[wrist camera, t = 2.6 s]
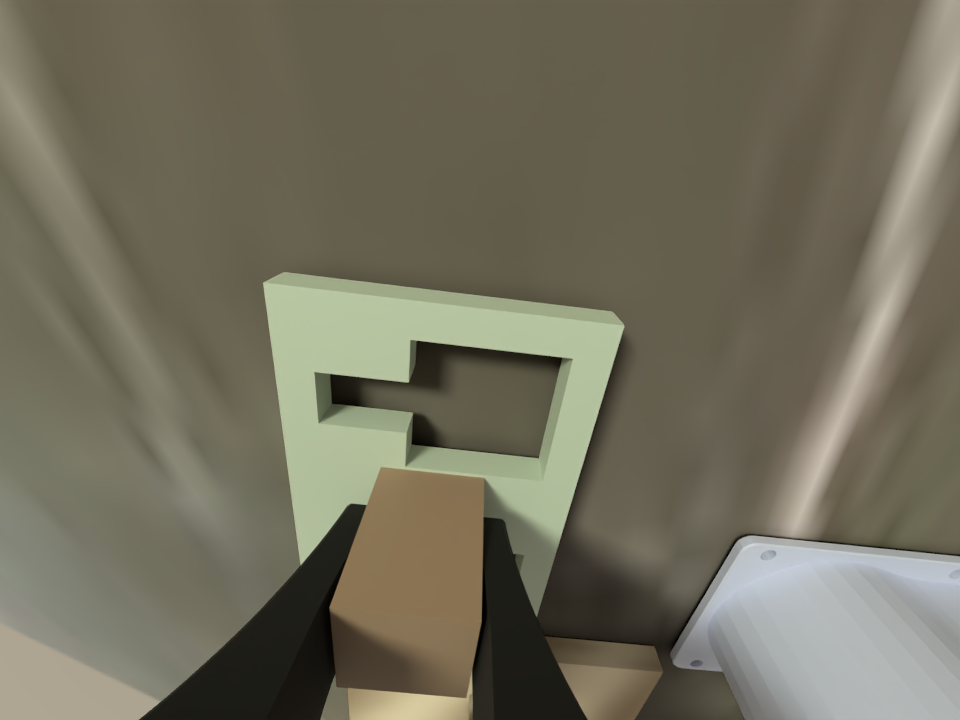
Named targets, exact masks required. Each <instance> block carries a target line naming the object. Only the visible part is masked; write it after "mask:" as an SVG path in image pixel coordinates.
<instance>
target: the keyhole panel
mask: <svg viewBox="0 0 960 720" xmlns="http://www.w3.org/2000/svg"><path fill="white" fill-rule="evenodd" d="M263 285H264V292H265V300H266V307H267V315H268V322H269V330H270V337H271V345H272V353H273V360H274V368H275V375H276V383H277V390H278V398H279V405H280V413H281V420H282V428H283V436H284V443H285V451H286V458H287V466H288V473H289V481H290V488H291V496H292V503H293V511H294V518H295V526H296V534H297V541H298V549H299V556H300V564H302V563H303V562H304V561H305V560H306V558H307V557H308V556H309V555H310V554H311V552H312V551H313V550H314V549H315V548H316V546H317V545H318V544H319V543H320V541H321V540H322V539H323V538H324V536H325V535H326V534H327V533H328V531H329V530H330V529H331V527H332V526H333V525H334V523H335V522H336V521H337V519H338V518H339V517H340V515H341V514H342V512H343V511H344V510H345V508H346V507H347V506H348V505H349V504H351V503H352V504H362V505H367V506H366V509H365V512H364V514H363V517H362V520H361V523H360V525H359V528H358V531H357V534H356V536H355V539H354V542H353V545H352V547H351V550H350V553H349V556H348V558H347V561H346V564H345V566H344V569H343V572H342V575H341V577H340V580H339V583H338V586H337V588H336V591H335V594H334V597H333V599H332V602H331V605H330V618H331V629H332V640H333V652H334V663H335V674H336V685H337V687H343V688H354V689H366V690H377V691H389V692H400V693H411V694H423V695H434V696H446V697H457V698H467V693H468V688H469V683H470V677H471V672H472V667H473V662H474V657H475V652H476V647H477V642H478V637H479V632H480V627H481V622H482V571H483V517H489V518H498V519H503V520H504V521H505V523H506V528H507V533H508V537H509V541H510V544H511V548H512V551H513V554H516V558H515V561H516V564H517V567H518V570H519V573H520V576H521V579H522V581H523V584H524V587H525V589H526V592H527V595H528V597H529V600H530V602H531V605H532V607H533V610H534V612H535V615H536V617H537V615H538V611H539V608H540V605H541V601H542V598H543V595H544V591H545V588H546V585H547V581H548V578H549V575H550V571H551V568H552V565H553V561H554V558H555V555H556V551H557V548H558V545H559V542H560V538H561V535H562V532H563V528H564V525H565V522H566V518H567V515H568V512H569V508H570V505H571V502H572V498H573V495H574V492H575V488H576V485H577V482H578V478H579V475H580V472H581V469H582V465H583V462H584V459H585V455H586V452H587V449H588V445H589V442H590V439H591V435H592V432H593V429H594V425H595V422H596V419H597V415H598V412H599V409H600V405H601V402H602V399H603V396H604V392H605V389H606V386H607V382H608V379H609V376H610V372H611V369H612V366H613V362H614V359H615V356H616V352H617V349H618V346H619V342H620V339H621V336H622V332H623V329H624V324H623V323H622V322H621V321H620V320H619V319H618V317H617V316H616V315H615V314H614V313H613V312H612V311H603V310H595V309H587V308H578V307H570V306H562V305H553V304H545V303H537V302H528V301H520V300H512V299H503V298H495V297H487V296H478V295H470V294H462V293H453V292H445V291H437V290H428V289H420V288H412V287H403V286H395V285H387V284H379V283H370V282H362V281H354V280H345V279H337V278H329V277H320V276H312V275H304V274H295V273H287V272H283V273H281V274H279V275H277V276H275V277H273V278H271V279H269V280H267V281H265V282H263ZM417 341H424V342H433V343H442V344H450V345H459V346H467V347H476V348H485V349H493V350H502V351H511V352H519V353H528V354H537V355H545V356H554V357H562V362H561V366H560V370H559V374H558V379H557V383H556V387H555V391H554V396H553V400H552V404H551V408H550V413H549V417H548V421H547V426H546V430H545V434H544V438H543V443H542V447H541V451H540V455H539V458H531V457H521V456H512V455H503V454H493V453H484V452H475V451H465V450H456V449H447V448H438V447H428V446H419V445H412V424H413V413H412V412H403V411H394V410H385V409H376V408H367V407H357V406H348V405H339V404H332V398H331V382H330V374H336V375H345V376H354V377H362V378H371V379H380V380H389V381H398V382H407V383H409V380H410V378H411V375H412V373H413V370H414V367H415V362H416V342H417Z"/></svg>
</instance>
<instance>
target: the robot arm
mask: <svg viewBox="0 0 960 720" xmlns="http://www.w3.org/2000/svg"><path fill="white" fill-rule="evenodd" d="M366 506H367V505H362V504H352V503H351V504H349V505H348V506H347V507H346V508H345V510H344V511H343V512H342V514H341V515H340V517H339V518H338V519H337V521H336V522H335V523H334V525H333V526H332V527H331V529H330V530H329V531H328V533H327V534H326V535H325V536H324V538H323V539H322V540H321V541H320V543H319V544H318V545H317V546H316V548H315V549H314V550H313V551H312V552H311V554H310V555H309V556H308V557H307V558H306V560H305V561H304V562H303V563H302V564H301V566H300V567H299V568H298V569H297V570H296V571H295V573H294V574H293V575H292V576H291V577H290V578H289V579H288V581H287V582H286V583H285V584H284V585H283V586H282V587H281V588H280V589H279V590H278V591H277V592H276V594H275V595H274V596H273V597H272V598H271V599H270V600H269V601H268V602H267V603H266V604H265V605H264V607H263V608H262V609H261V610H260V611H259V612H258V613H257V614H256V615H255V616H254V617H253V618H252V619H251V620H250V621H249V622H248V623H247V624H246V625H245V626H244V627H243V628H242V629H241V630H240V631H239V632H238V633H237V634H236V635H235V636H234V637H233V638H232V639H230V640H229V641H228V642H227V643H226V644H225V645H224V646H223V647H222V648H221V649H220V650H219V651H218V652H217V653H216V654H215V655H213V656H212V657H211V658H210V659H209V660H208V661H207V662H206V663H205V664H204V665H202V666H201V667H200V668H199V669H198V670H197V671H196V672H195V673H194V674H193V675H191V676H190V677H189V678H188V679H187V680H186V681H185V682H184V683H182V684H181V685H180V686H179V687H178V688H177V689H175V690H174V691H173V692H172V693H171V694H170V695H168V696H167V697H166V698H165V699H164V700H163V701H161V702H160V703H159V704H158V705H157V706H155V707H154V708H153V709H152V710H150V711H149V712H148V713H147V714H146V715H144V716H143V717H142V718H141V719H139V720H320V719H321V715H322V711H323V708H324V705H325V702H326V699H327V696H328V693H329V690H330V687H331V684H332V681H333V678H334V675H335V663H334V652H333V640H332V629H331V618H330V605H331V602H332V599H333V597H334V594H335V591H336V588H337V586H338V583H339V580H340V577H341V575H342V572H343V569H344V566H345V564H346V561H347V558H348V556H349V553H350V550H351V547H352V545H353V542H354V539H355V536H356V534H357V531H358V528H359V525H360V523H361V520H362V517H363V514H364V512H365V509H366ZM670 656H671V659H672V662H673V664H674V665H675V666H677V667H679V668H686V669H697V670H709V671H720V672H723V673H724V675H725V678H726V680H727V682H728V684H729V686H730V688H731V691H732V693H733V695H734V697H735V699H736V701H737V703H738V706H739V708H740V710H741V712H742V714H743V716H744V719H745V720H960V556H951V555H941V554H931V553H921V552H911V551H902V550H892V549H882V548H872V547H862V546H852V545H842V544H832V543H822V542H812V541H802V540H792V539H783V538H773V537H763V536H745V537H742V538H741V539H739V540H738V541H737V542H736V543H735V545H734V547H733V548H732V550H731V552H730V553H729V555H728V557H727V558H726V560H725V562H724V564H723V565H722V567H721V569H720V570H719V572H718V574H717V575H716V577H715V579H714V580H713V582H712V584H711V585H710V587H709V589H708V590H707V592H706V594H705V595H704V597H703V599H702V600H701V602H700V604H699V605H698V607H697V609H696V610H695V612H694V614H693V615H692V617H691V619H690V621H689V622H688V624H687V626H686V627H685V629H684V631H683V632H682V634H681V636H680V637H679V639H678V641H677V642H676V644H675V646H674V647H673V649H672V651H671V653H670ZM472 694H473V720H588V719H587V717H586V716H585V714H584V712H583V711H582V709H581V707H580V705H579V703H578V701H577V699H576V698H575V696H574V694H573V692H572V690H571V688H570V686H569V685H568V683H567V681H566V679H565V677H564V675H563V673H562V671H561V669H560V667H559V665H558V663H557V661H556V659H555V657H554V655H553V653H552V651H551V648H550V646H549V644H548V642H547V640H546V638H545V635H544V633H543V631H542V628H541V626H540V624H539V622H538V619H537V617H536V615H535V612H534V610H533V607H532V605H531V602H530V600H529V597H528V595H527V592H526V589H525V587H524V584H523V581H522V579H521V576H520V573H519V570H518V567H517V564H516V561H515V558H514V555H513V551H512V548H511V544H510V541H509V537H508V533H507V528H506V523H505V521H504V520H503V519H498V518H489V517H483V571H482V622H481V627H480V632H479V637H478V642H477V647H476V652H475V657H474V662H473V667H472Z"/></svg>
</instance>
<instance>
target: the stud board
mask: <svg viewBox="0 0 960 720" xmlns="http://www.w3.org/2000/svg"><path fill="white" fill-rule="evenodd" d="M545 638H546V640H547V642H548V644H549V646H550V648H551V651H552V653H553V655H554V657H555V659H556V661H557V663H558V665H559V667H560V669H561V671H562V673H563V675H564V677H565V679H566V681H567V683H568V685H569V686H570V688H571V690H572V692H573V694H574V696H575V698H576V699H577V701H578V703H579V705H580V707H581V709H582V711H583V712H584V714H585V716H586V717H587V719H588V720H635V718H636V717H637V715H638V713H639V712H640V710H641V708H642V707H643V705H644V703H645V702H646V700H647V698H648V697H649V695H650V693H651V692H652V690H653V689H654V687H655V685H656V684H657V682H658V680H659V679H660V677H661V675H662V674H663V670H662V667H661V664H660V661H659V658H658V655H657V653H656V650H655V647H654V646H646V645H635V644H624V643H613V642H602V641H591V640H580V639H568V638H557V637H546V636H545ZM348 700H349V715H350V720H473V694H472V672H471V677H470V683H469V688H468V693H467V698H457V697H446V696H434V695H423V694H411V693H400V692H389V691H377V690H366V689H354V688H348Z"/></svg>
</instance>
